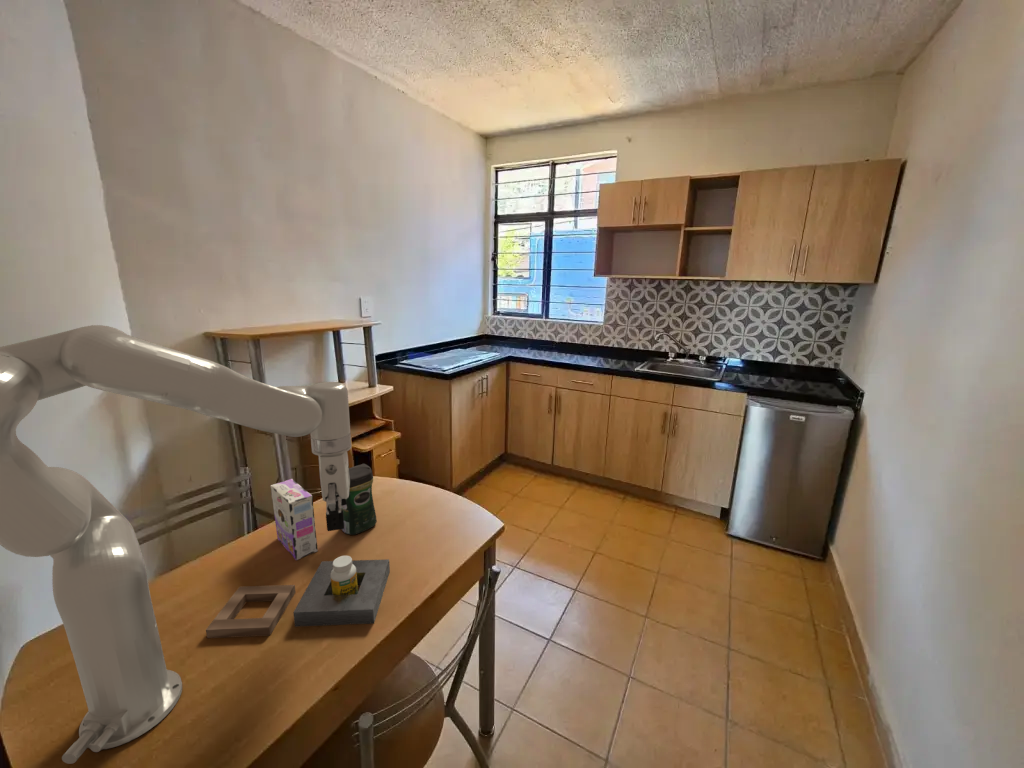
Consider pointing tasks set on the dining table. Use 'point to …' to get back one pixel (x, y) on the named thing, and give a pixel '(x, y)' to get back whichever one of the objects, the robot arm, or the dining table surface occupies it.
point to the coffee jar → (359, 501)
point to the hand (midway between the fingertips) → (337, 516)
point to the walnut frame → (253, 626)
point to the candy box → (294, 518)
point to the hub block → (343, 596)
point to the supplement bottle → (344, 577)
